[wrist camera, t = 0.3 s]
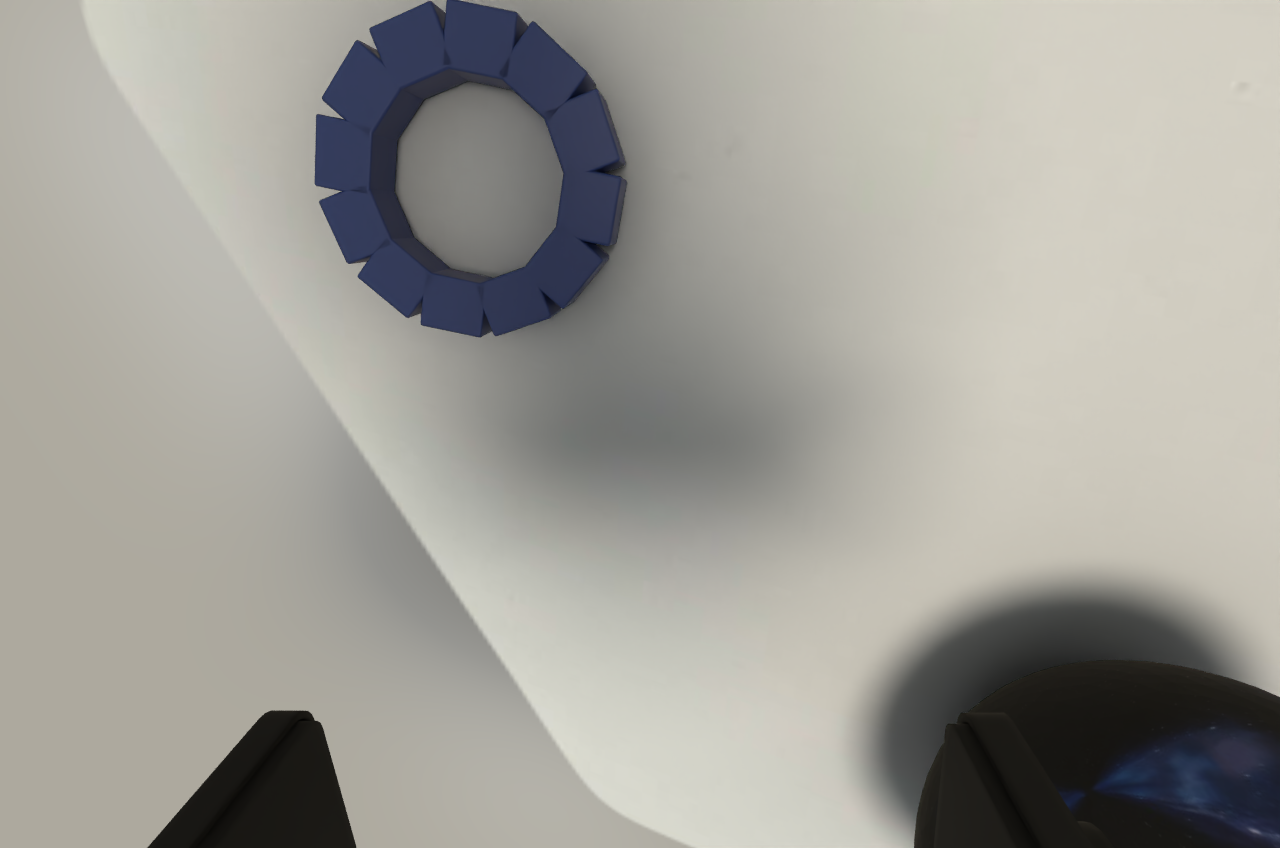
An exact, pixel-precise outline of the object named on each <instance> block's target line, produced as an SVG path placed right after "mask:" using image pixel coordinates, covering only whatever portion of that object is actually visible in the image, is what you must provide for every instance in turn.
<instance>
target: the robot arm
mask: <svg viewBox="0 0 1280 848" xmlns="http://www.w3.org/2000/svg"><path fill="white" fill-rule="evenodd" d="M148 848H356V844H355V840H354V837H353V833H352V830H351V826H350V823H349V819H348V815H347V812H346V808H345V805H344V801H343V798H342V794H341V791H340V787H339V784H338V780H337V776H336V773H335V769H334V766H333V762H332V759H331V755H330V752H329V748H328V744H327V741H326V737H325V734H324V730H323V727H322V725H321V723H320V722H318V721H315V720H314V718H313V716H312V714H311V713H310V712H308V711H269V712H267V713H265V714H264V715H263V716H262V717H261V718H259V720H258V721H257V722H256V723H255V724H254V725H253V726H252V728H251V729H250V730H249V731H248V732H247V733H246V735H245V736H244V737H243V738H242V739H241V740H240V741H239V743H238V744H237V745H236V746H235V747H234V748H233V750H232V751H231V752H230V753H229V754H228V755H227V756H226V758H225V759H224V760H223V761H222V762H221V763H220V765H219V766H218V767H217V768H216V769H215V770H214V771H213V773H212V774H211V775H210V776H209V777H208V778H207V780H206V781H205V782H204V783H203V784H202V785H201V787H200V788H199V789H198V790H197V791H196V792H195V793H194V795H193V796H192V797H191V798H190V799H189V800H188V802H187V803H186V804H185V805H184V806H183V807H182V808H181V810H180V811H179V812H178V813H177V814H176V815H175V816H174V818H173V819H172V820H171V821H170V822H169V823H168V825H167V826H166V827H165V828H164V829H163V830H162V832H161V833H160V834H159V835H158V836H157V837H156V839H155V840H154V841H153V842H152V843H151V844H150V846H149V847H148ZM934 848H1114V847H1113V845H1112V844H1111V842H1110V841H1109V840H1108V839H1107V837H1106V836H1105V835H1104V834H1103V832H1102V831H1101V830H1100V829H1098V828H1097V827H1096V826H1094V825H1093V824H1092V823H1088V822H1083V821H1077V820H1076V819H1075V817H1074V816H1073V814H1072V813H1071V811H1070V810H1069V808H1068V806H1067V805H1066V803H1065V802H1064V800H1063V799H1062V797H1061V795H1060V794H1059V792H1058V791H1057V789H1056V788H1055V786H1054V785H1053V783H1052V781H1051V780H1050V778H1049V777H1048V775H1047V774H1046V772H1045V770H1044V769H1043V767H1042V766H1041V764H1040V763H1039V761H1038V759H1037V758H1036V756H1035V755H1034V753H1033V752H1032V750H1031V749H1030V747H1029V745H1028V744H1027V742H1026V741H1025V739H1024V738H1023V736H1022V734H1021V733H1020V731H1019V730H1018V728H1017V727H1016V725H1015V724H1014V722H1013V721H1012V719H1011V718H1010V717H1009V716H1008V715H1007V714H1005V713H961V714H960V715H959V717H958V721H957V724H948V725H947V726H946V730H945V739H944V749H943V759H942V768H941V778H940V788H939V798H938V808H937V818H936V828H935V838H934Z"/></svg>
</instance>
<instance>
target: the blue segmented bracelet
mask: <svg viewBox="0 0 1280 848" xmlns="http://www.w3.org/2000/svg"><path fill="white" fill-rule="evenodd" d="M370 33H371V36H372V38H373V41H374V43H375V45H376V48H377V50H376V49H374V48H372V47H370V46H368V45H366V44H365V43H363V42H361V41H359V40H357V41H355V43H354V45H353V46H352V48H351V50H350V51H349V53H348V55H347V56H346V58H345V60H344V61H343V63H342V65H341V66H340V68H339V70H338V71H337V73H336V75H335V76H334V78H333V80H332V81H331V83H330V85H329V86H328V88H327V90H326V91H325V93H324V95H323V96H322V99H323V101H324V102H325V103H326V104H327V105H329V106H330V107H331V108H332V109H333V110H334V111H336V112H337V113H338V114H339V115H340V116H341V117H342V118H344V119H345V120H344V119H340V118H335V117H330V116H325V115H320V114H317V115H316V151H315V185H316V186H319V187H324V188H329V189H334V190H339V191H342V192H339V193H337V194H334V195H332V196H329V197H327V198H324V199H322V200H320V201H319V203H320V206H321V208H322V210H323V212H324V214H325V216H326V219H327V221H328V223H329V225H330V227H331V229H332V232H333V234H334V236H335V238H336V240H337V242H338V245H339V247H340V249H341V251H342V253H343V255H344V258H345V260H346V262H347V263H348V264H353V263H361V262H367V263H366V264H365V266H364V267H363V269H362V270H361V272H360V273H359V274H358V278H359V279H361V280H362V281H363V282H364V283H365V284H367V285H368V286H369V287H370V288H371V289H373V290H374V291H375V292H376V293H377V294H379V295H380V296H381V297H382V298H384V299H385V300H386V301H387V302H388V303H390V304H391V305H392V306H393V307H394V308H396V309H397V310H398V311H399V312H400V313H402V314H403V315H404V316H405V317H407V318H409V317H412V316H415V315H418V314H421V325H423V326H427V327H432V328H437V329H442V330H446V331H451V332H456V333H461V334H465V335H470V336H475V337H482V336H484V335H486V334H487V333H489V332H491V331H492V332H493V334H494V336H499V335H502V334H505V333H508V332H511V331H514V330H517V329H520V328H523V327H526V326H528V325H531V324H534V323H537V322H540V321H543V320H546V319H549V318H551V317H552V316H554V315H555V314H557V313H558V312H559V311H561V308H562V309H564V308H565V307H567V306H568V305H570V304H571V303H572V302H574V301H575V299H576V298H577V297H578V296H579V295H580V293H581V292H582V291H583V290H584V289H585V287H586V286H587V285H588V284H589V282H590V281H591V280H592V279H593V278H594V276H595V275H596V274H597V273H598V272H599V270H600V269H601V268H602V267H603V266H604V264H605V263H606V262H607V261H608V260H609V255H608V254H606V253H605V252H604V251H603V250H602V249H601V248H600V247H599V246H598V245H596V244H599V245H604V246H610V245H613V244H616V242H617V237H618V231H619V225H620V220H621V214H622V208H623V203H624V197H625V191H626V186H627V181H626V180H625V179H623V178H622V177H620V176H616V175H611V174H606V173H607V172H609V171H612V170H615V169H617V168H620V167H623V166H624V165H625V164H626V162H625V159H624V156H623V153H622V150H621V146H620V143H619V140H618V137H617V134H616V131H615V128H614V125H613V122H612V119H611V116H610V112H609V109H608V106H607V103H606V100H605V99H604V98H603V96H602V95H601V94H600V92H599V91H598V90H597V89H594V88H595V86H596V84H595V82H594V81H593V80H592V78H591V77H590V75H589V74H588V73H587V71H586V70H585V69H583V68H582V67H581V66H580V65H579V64H578V63H577V62H576V61H575V60H574V59H573V58H572V57H571V56H570V55H569V54H568V53H567V52H566V51H565V50H563V49H562V48H561V47H560V46H559V45H558V44H557V43H556V42H555V41H554V40H553V39H552V38H551V37H550V36H549V35H548V34H547V33H546V32H545V31H544V30H542V29H541V28H540V27H539V26H538V25H537V24H536V23H535V22H533V21H532V22H531V23H530V25H529V26H528V25H527V24H526V23H525V22H524V20H523V19H522V18H521V17H520V16H519V15H518V13H516V12H513V11H508V10H504V9H499V8H494V7H489V6H484V5H479V4H474V3H469V2H464V1H459V0H447V3H446V13H445V12H444V11H442V10H441V9H440V8H439V7H438V6H436V5H435V4H434V3H433V2H432V1H428V2H426V3H424V4H422V5H419V6H417V7H415V8H413V9H411V10H408V11H406V12H404V13H402V14H400V15H397V16H395V17H393V18H391V19H389V20H386V21H384V22H382V23H380V24H378V25H375V26H373V27H371V28H370ZM466 81H471V82H476V83H481V84H486V85H491V86H496V87H501V88H506V89H510V90H514V91H515V92H516V93H517V94H518V95H519V96H520V97H521V98H522V99H523V100H524V101H525V102H527V103H528V104H529V105H530V106H531V107H532V108H533V109H534V110H535V111H536V112H537V113H538V114H540V115H541V116H542V117H543V118H544V119H545V122H546V125H547V128H548V131H549V133H550V136H551V139H552V142H553V145H554V148H555V151H556V153H557V156H558V159H559V162H560V165H561V168H562V170H563V173H564V174H563V181H562V188H561V195H560V202H559V209H558V216H557V223H556V228H555V229H554V230H553V231H552V233H551V234H550V235H549V237H548V238H547V239H546V240H545V242H544V243H543V244H542V246H541V247H540V248H539V249H538V251H537V252H536V253H535V254H534V256H533V257H532V258H531V260H530V261H529V262H528V263H527V265H526V266H525V267H523V268H520V269H517V270H514V271H512V272H509V273H506V274H503V275H500V276H498V277H495V278H492V277H487V276H483V275H478V274H473V273H468V272H463V271H459V270H454V269H450V268H449V267H448V266H447V265H446V264H444V263H443V262H442V261H441V260H440V259H439V258H437V257H436V256H435V255H434V254H433V253H432V252H430V251H429V250H428V249H427V248H426V247H424V246H423V245H422V244H421V243H420V242H419V241H417V240H416V239H415V238H414V237H413V234H412V232H411V230H410V227H409V225H408V223H407V220H406V218H405V216H404V213H403V211H402V209H401V206H400V204H399V202H398V199H397V197H396V194H395V192H394V189H395V172H396V156H397V140H398V138H399V137H400V135H401V134H402V132H403V131H404V129H405V128H406V126H407V125H408V123H409V122H410V120H411V119H412V117H413V115H414V114H415V112H416V111H417V109H418V108H419V106H420V105H421V103H422V102H423V100H424V99H426V98H429V97H431V96H433V95H436V94H438V93H440V92H443V91H445V90H447V89H450V88H452V87H455V86H457V85H459V84H462V83H464V82H466Z"/></svg>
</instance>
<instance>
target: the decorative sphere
mask: <svg viewBox="0 0 1280 848" xmlns="http://www.w3.org/2000/svg"><path fill="white" fill-rule="evenodd" d="M968 713H1005V714H1007V715H1008V716H1009V717H1010V718H1011V719H1012V721H1013V722H1014V724H1015V725H1016V727H1017V728H1018V730H1019V731H1020V733H1021V734H1022V736H1023V738H1024V739H1025V741H1026V742H1027V744H1028V745H1029V747H1030V749H1031V750H1032V752H1033V753H1034V755H1035V756H1036V758H1037V759H1038V761H1039V763H1040V764H1041V766H1042V767H1043V769H1044V770H1045V772H1046V774H1047V775H1048V777H1049V778H1050V780H1051V781H1052V783H1053V785H1054V786H1055V788H1056V789H1057V791H1058V792H1059V794H1060V795H1061V797H1062V799H1063V800H1064V802H1065V803H1066V805H1067V806H1068V808H1069V810H1070V811H1071V813H1072V814H1073V816H1074V817H1075V819H1076V820H1077V821H1083V822H1088V823H1092V824H1093V825H1094V826H1096V827H1097V828H1098V829H1100V830H1101V831H1102V832H1103V834H1104V835H1105V836H1106V837H1107V839H1108V840H1109V841H1110V842H1111V844H1112V845H1113V847H1114V848H1280V697H1278V696H1276V695H1273V694H1271V693H1269V692H1266V691H1264V690H1261V689H1259V688H1257V687H1254V686H1251V685H1248V684H1245V683H1242V682H1239V681H1236V680H1233V679H1230V678H1226V677H1222V676H1219V675H1215V674H1212V673H1208V672H1204V671H1201V670H1197V669H1192V668H1187V667H1183V666H1177V665H1170V664H1163V663H1156V662H1149V661H1130V660H1099V661H1086V662H1078V663H1072V664H1067V665H1061V666H1056V667H1052V668H1048V669H1045V670H1041V671H1038V672H1035V673H1032V674H1030V675H1028V676H1025V677H1023V678H1021V679H1018V680H1016V681H1014V682H1011V683H1010V684H1008V685H1006V686H1004V687H1002V688H1000V689H999V690H997V691H996V692H994V693H993V694H991V695H990V696H988V697H987V698H985V699H984V700H982V701H981V702H980V703H979V704H977V705H976V706H975V707H974V708H973V709H972V710H970V711H969V712H968ZM943 749H944V743H943V745H942V746H941V748H940V750H939V752H938V754H937V756H936V758H935V760H934V762H933V765H932V767H931V769H930V771H929V773H928V775H927V778H926V781H925V785H924V788H923V791H922V795H921V799H920V803H919V808H918V813H917V820H916V829H915V838H914V848H934V838H935V828H936V818H937V808H938V798H939V788H940V778H941V768H942V759H943Z"/></svg>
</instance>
